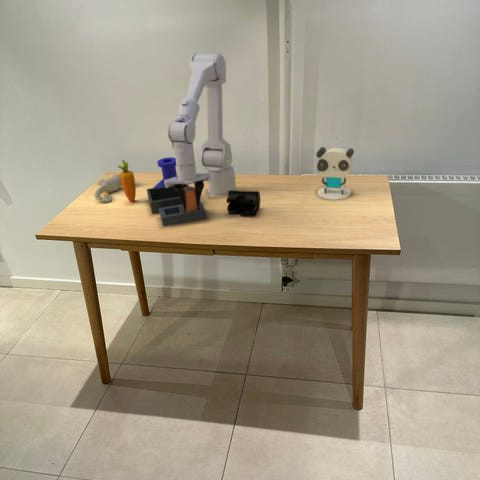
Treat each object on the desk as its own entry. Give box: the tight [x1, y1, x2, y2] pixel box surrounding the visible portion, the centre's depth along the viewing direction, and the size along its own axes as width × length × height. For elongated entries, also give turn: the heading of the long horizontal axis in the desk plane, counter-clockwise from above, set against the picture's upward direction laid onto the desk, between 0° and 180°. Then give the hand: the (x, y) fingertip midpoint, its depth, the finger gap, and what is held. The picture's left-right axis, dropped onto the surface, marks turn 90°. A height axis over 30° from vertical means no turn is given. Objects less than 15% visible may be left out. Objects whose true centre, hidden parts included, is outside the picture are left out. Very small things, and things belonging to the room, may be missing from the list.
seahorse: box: [94, 173, 136, 203], centre depth 174 cm, size 5×12×20 cm
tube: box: [183, 186, 198, 212], centre depth 150 cm, size 4×4×8 cm
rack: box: [158, 200, 207, 227], centre depth 152 cm, size 8×14×4 cm, turn 105°
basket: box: [146, 184, 190, 215], centre depth 162 cm, size 15×13×5 cm
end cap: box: [226, 189, 261, 218], centre depth 153 cm, size 10×7×7 cm
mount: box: [152, 156, 178, 188], centre depth 176 cm, size 15×8×9 cm, turn 163°
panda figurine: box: [315, 146, 355, 201], centre depth 158 cm, size 12×11×15 cm
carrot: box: [117, 159, 137, 203], centre depth 162 cm, size 5×5×15 cm
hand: (191, 205), depth 151 cm, fingers closed on tube, 4 cm apart
